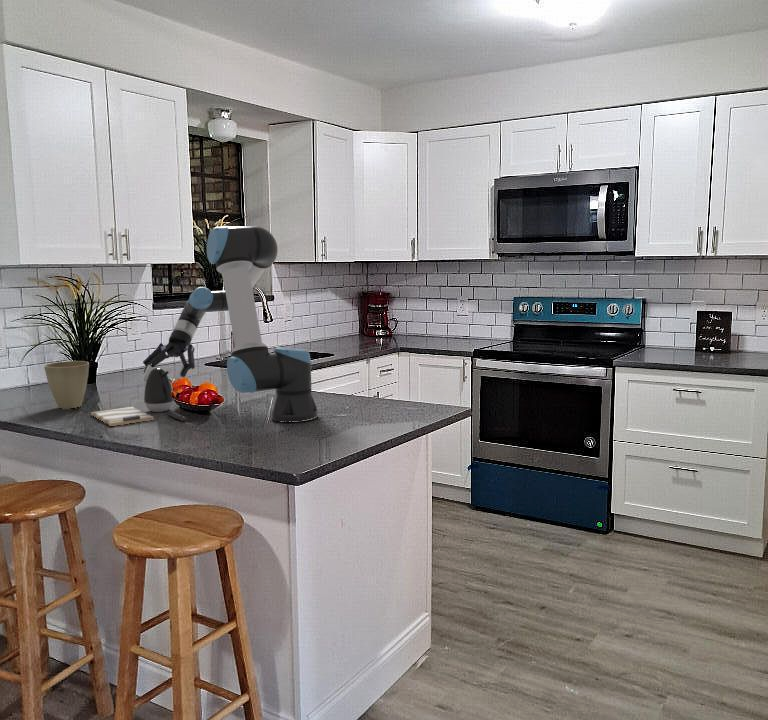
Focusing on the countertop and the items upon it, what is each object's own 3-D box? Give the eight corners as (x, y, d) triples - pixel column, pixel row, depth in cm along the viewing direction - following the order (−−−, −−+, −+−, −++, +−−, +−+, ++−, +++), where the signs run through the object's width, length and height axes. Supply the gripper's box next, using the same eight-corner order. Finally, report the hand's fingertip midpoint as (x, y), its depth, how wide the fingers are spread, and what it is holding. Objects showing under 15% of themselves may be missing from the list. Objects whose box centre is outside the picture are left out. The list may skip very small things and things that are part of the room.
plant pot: (40, 412, 261) (36, 367, 259) (59, 403, 276) (56, 361, 274) (81, 411, 261) (78, 366, 258) (99, 403, 275) (95, 360, 273)
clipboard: (154, 420, 244) (153, 413, 244) (110, 427, 236) (110, 420, 236) (132, 409, 262) (132, 403, 261) (91, 415, 253) (91, 409, 253)
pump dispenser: (159, 415, 252) (156, 371, 250) (138, 412, 258) (135, 369, 256) (181, 409, 261) (178, 366, 259) (160, 406, 266) (158, 364, 264)
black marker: (187, 421, 242) (186, 416, 241) (182, 422, 241) (182, 417, 240) (171, 414, 252) (171, 410, 252) (167, 415, 252) (166, 410, 251)
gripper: (216, 342, 271) (195, 390, 259) (158, 340, 279) (135, 387, 267) (207, 329, 265) (185, 377, 253) (148, 328, 273) (125, 375, 261)
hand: (160, 382), depth 260 cm, fingers open, 13 cm apart
